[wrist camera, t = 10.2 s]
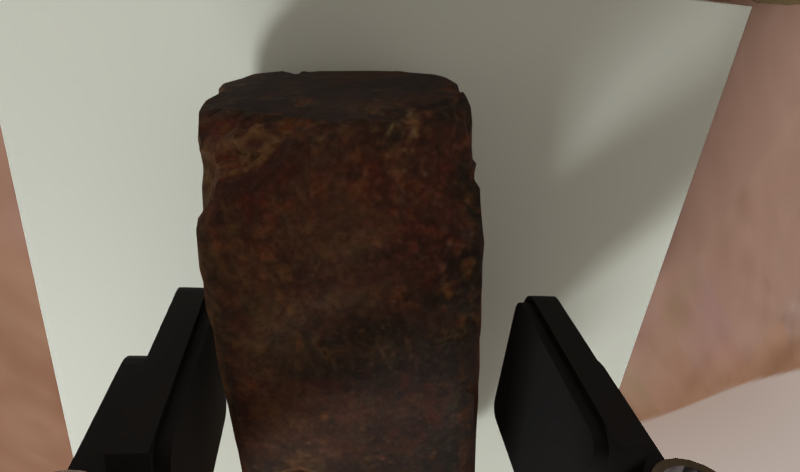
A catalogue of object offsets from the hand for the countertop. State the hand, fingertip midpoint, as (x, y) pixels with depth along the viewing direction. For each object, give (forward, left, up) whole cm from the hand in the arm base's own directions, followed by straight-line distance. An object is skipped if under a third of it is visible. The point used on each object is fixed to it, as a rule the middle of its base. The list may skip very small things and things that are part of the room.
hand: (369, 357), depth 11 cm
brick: (0, 0, -2) cm, 2 cm away
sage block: (0, 0, -8) cm, 8 cm away
